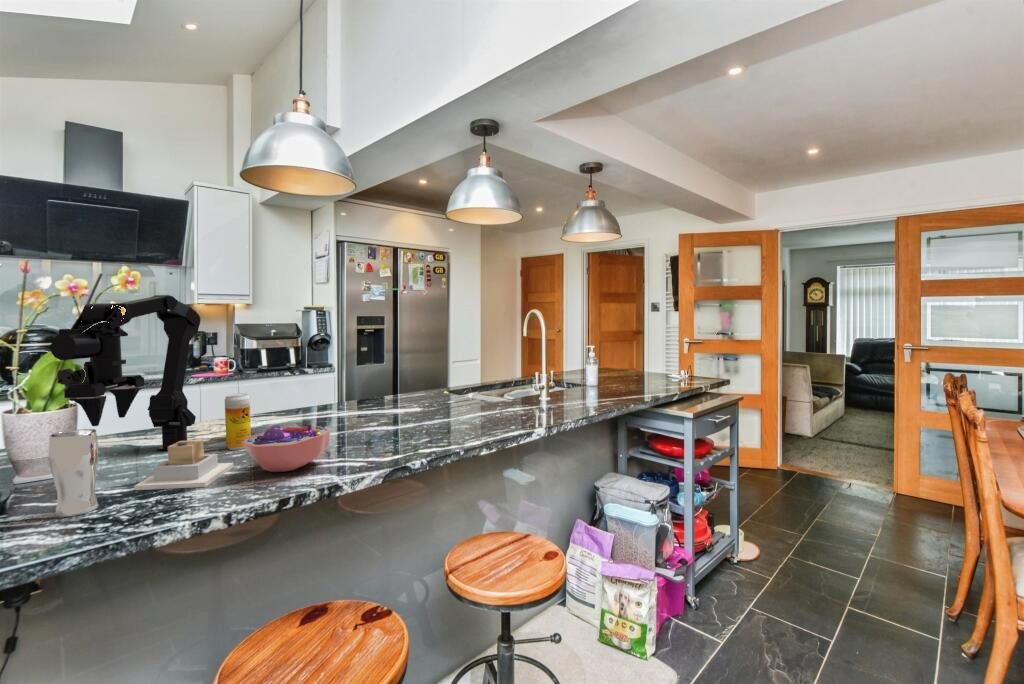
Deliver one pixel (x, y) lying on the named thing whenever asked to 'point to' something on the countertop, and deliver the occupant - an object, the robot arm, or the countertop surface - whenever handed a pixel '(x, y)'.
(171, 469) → the socket plate
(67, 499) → the beer glass
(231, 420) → the beer can
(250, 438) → the cell model
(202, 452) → the tan block
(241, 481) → the countertop surface
